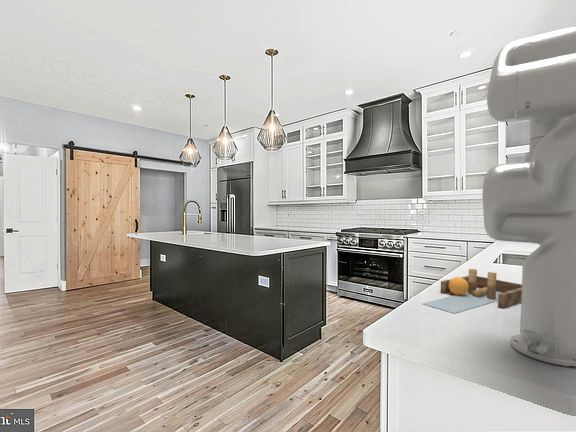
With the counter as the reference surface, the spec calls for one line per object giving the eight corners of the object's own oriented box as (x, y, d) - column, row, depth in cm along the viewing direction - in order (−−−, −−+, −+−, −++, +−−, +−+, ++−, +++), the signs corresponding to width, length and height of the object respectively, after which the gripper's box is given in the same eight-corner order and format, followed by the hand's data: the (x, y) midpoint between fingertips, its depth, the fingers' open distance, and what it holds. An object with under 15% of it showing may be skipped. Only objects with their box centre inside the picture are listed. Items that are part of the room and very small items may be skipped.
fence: (503, 308, 92) (503, 295, 92) (440, 292, 108) (440, 281, 108) (532, 298, 103) (533, 286, 102) (471, 285, 119) (471, 275, 119)
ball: (476, 289, 104) (467, 281, 101) (462, 301, 105) (453, 294, 102) (463, 278, 109) (454, 270, 106) (450, 290, 110) (441, 282, 108)
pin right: (493, 300, 100) (494, 274, 100) (485, 298, 102) (486, 272, 102) (497, 299, 101) (497, 273, 101) (489, 297, 103) (489, 271, 103)
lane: (454, 313, 86) (454, 313, 86) (422, 304, 95) (422, 303, 95) (514, 295, 106) (514, 295, 106) (482, 288, 114) (482, 288, 114)
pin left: (473, 295, 105) (474, 270, 105) (466, 294, 107) (467, 269, 107) (477, 294, 106) (478, 269, 106) (470, 293, 108) (471, 268, 108)
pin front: (478, 289, 102) (489, 286, 107) (470, 291, 104) (482, 287, 109) (481, 297, 102) (492, 293, 106) (473, 298, 103) (485, 294, 108)
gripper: (592, 142, 76) (589, 218, 76) (520, 151, 88) (518, 216, 89) (581, 138, 72) (578, 219, 72) (508, 148, 84) (505, 216, 85)
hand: (545, 217), depth 80 cm, fingers closed
